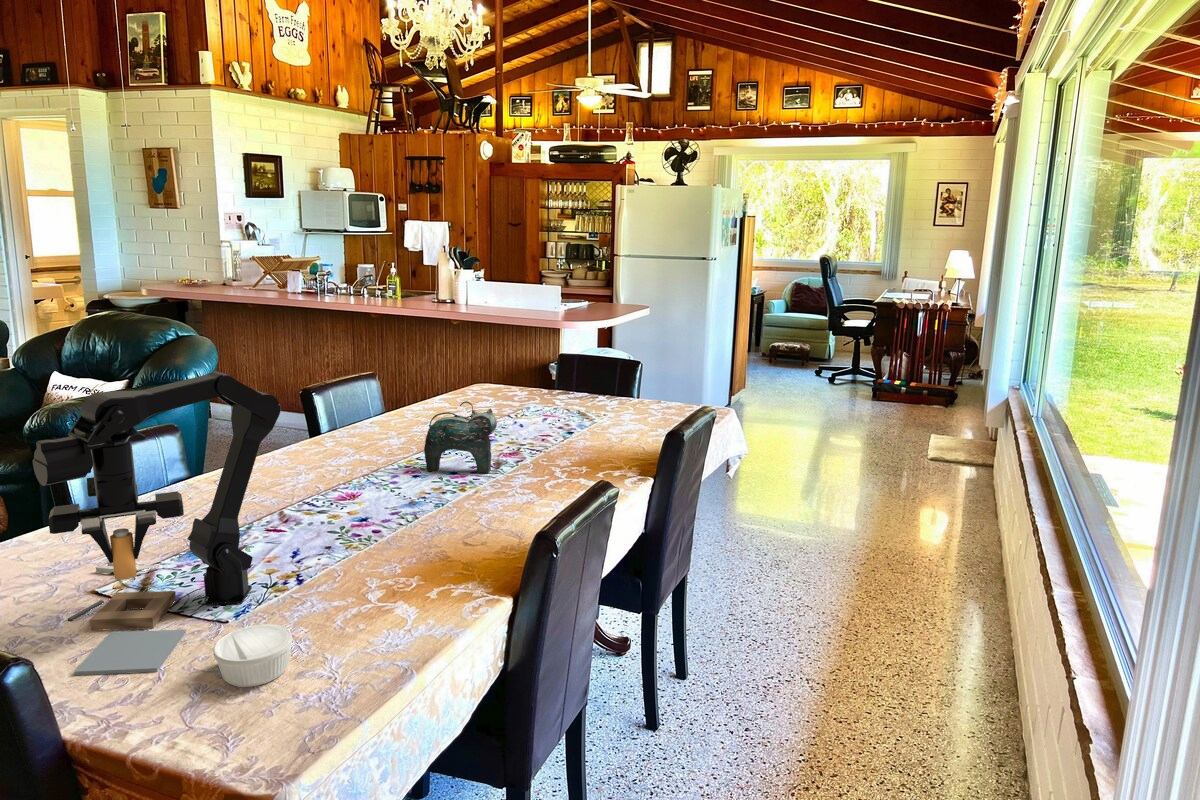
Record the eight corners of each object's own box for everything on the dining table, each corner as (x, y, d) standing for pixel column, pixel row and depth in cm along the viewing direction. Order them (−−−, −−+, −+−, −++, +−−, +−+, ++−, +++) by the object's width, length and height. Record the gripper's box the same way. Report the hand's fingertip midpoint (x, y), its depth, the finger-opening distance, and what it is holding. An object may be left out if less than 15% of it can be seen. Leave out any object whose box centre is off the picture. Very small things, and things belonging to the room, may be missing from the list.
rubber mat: (185, 632, 138) (185, 629, 137) (157, 671, 126) (156, 668, 126) (110, 635, 136) (110, 632, 136) (74, 675, 124) (74, 671, 124)
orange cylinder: (140, 571, 137) (135, 527, 135) (131, 579, 134) (126, 534, 132) (120, 571, 136) (115, 527, 135) (110, 580, 133) (105, 534, 132)
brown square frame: (176, 600, 148) (175, 590, 148) (153, 628, 139) (152, 617, 138) (118, 602, 147) (116, 592, 147) (91, 630, 138) (89, 619, 137)
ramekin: (199, 682, 124) (196, 651, 122) (254, 647, 134) (251, 618, 133) (257, 699, 120) (254, 667, 119) (309, 661, 130) (307, 631, 129)
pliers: (145, 584, 152) (80, 573, 156) (146, 592, 152) (81, 581, 156) (184, 563, 161) (122, 553, 165) (185, 570, 162) (123, 560, 165)
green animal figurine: (497, 469, 228) (497, 400, 223) (492, 476, 222) (492, 405, 217) (429, 465, 230) (427, 397, 225) (421, 472, 224) (420, 402, 219)
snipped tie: (100, 602, 147) (100, 600, 147) (104, 602, 147) (104, 600, 147) (67, 620, 141) (67, 618, 140) (71, 621, 140) (71, 619, 140)
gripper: (176, 450, 142) (184, 534, 146) (49, 464, 133) (60, 552, 137) (179, 468, 133) (187, 557, 136) (43, 484, 124) (55, 578, 127)
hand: (124, 560), depth 134 cm, fingers closed on orange cylinder, 3 cm apart
